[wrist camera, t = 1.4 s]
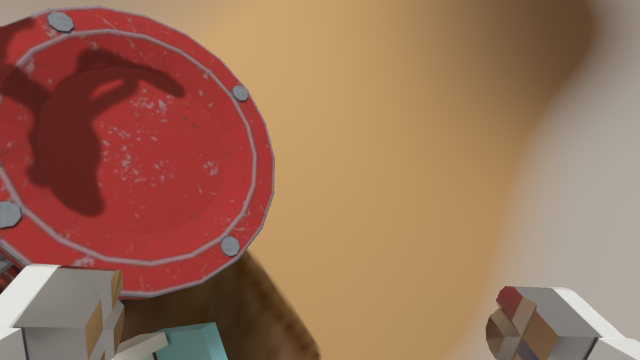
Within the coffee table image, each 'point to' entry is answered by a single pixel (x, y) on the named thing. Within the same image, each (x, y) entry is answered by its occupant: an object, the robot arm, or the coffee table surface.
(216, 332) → the box lid
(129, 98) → the hourglass
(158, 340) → the white open box
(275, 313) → the coffee table surface
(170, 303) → the coffee table surface
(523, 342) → the robot arm
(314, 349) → the coffee table surface
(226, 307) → the coffee table surface
